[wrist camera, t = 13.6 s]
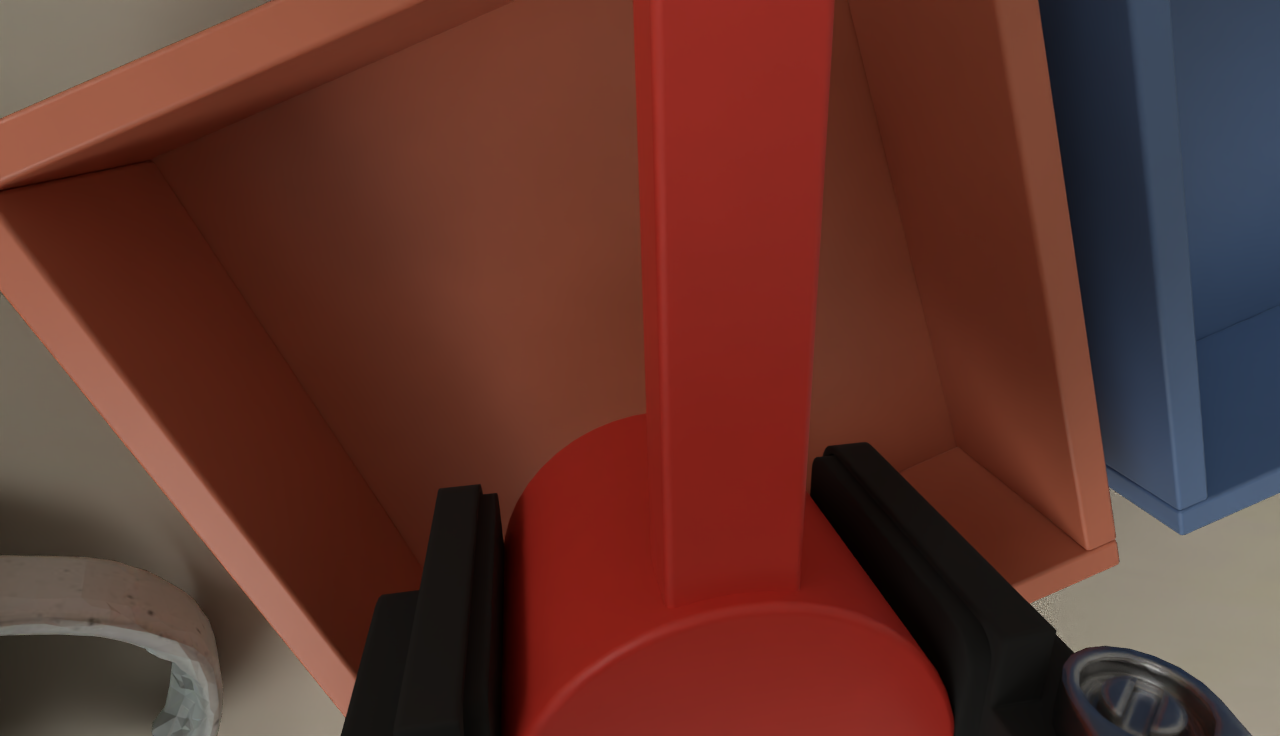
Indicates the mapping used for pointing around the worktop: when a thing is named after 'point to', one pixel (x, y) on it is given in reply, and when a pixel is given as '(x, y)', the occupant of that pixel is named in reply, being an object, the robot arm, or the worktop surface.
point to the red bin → (529, 278)
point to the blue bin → (1176, 241)
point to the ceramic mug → (121, 625)
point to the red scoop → (711, 437)
